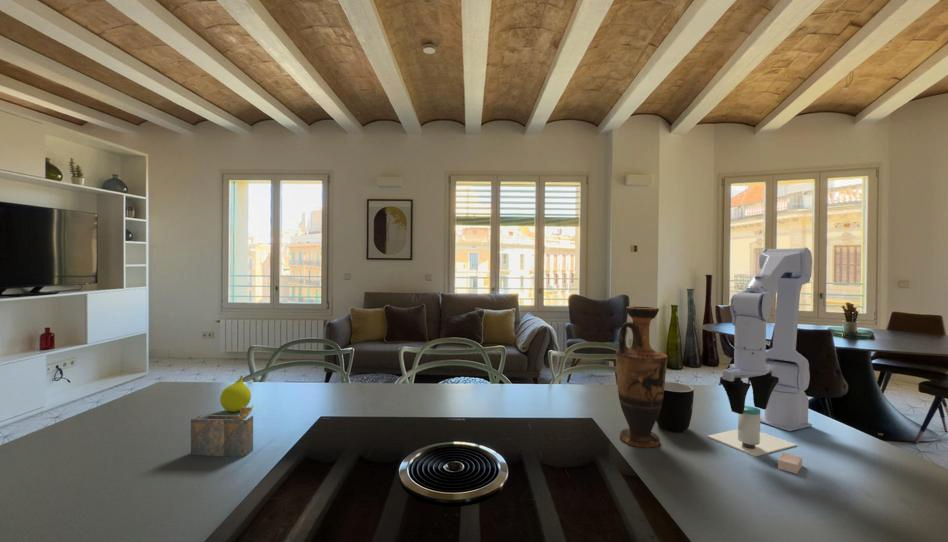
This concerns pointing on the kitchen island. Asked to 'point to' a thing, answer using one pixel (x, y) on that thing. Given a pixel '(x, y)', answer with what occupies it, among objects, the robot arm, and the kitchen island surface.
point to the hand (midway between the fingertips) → (748, 410)
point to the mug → (676, 407)
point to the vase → (640, 379)
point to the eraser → (790, 462)
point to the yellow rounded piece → (235, 396)
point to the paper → (765, 446)
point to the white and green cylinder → (749, 427)
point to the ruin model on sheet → (222, 434)
